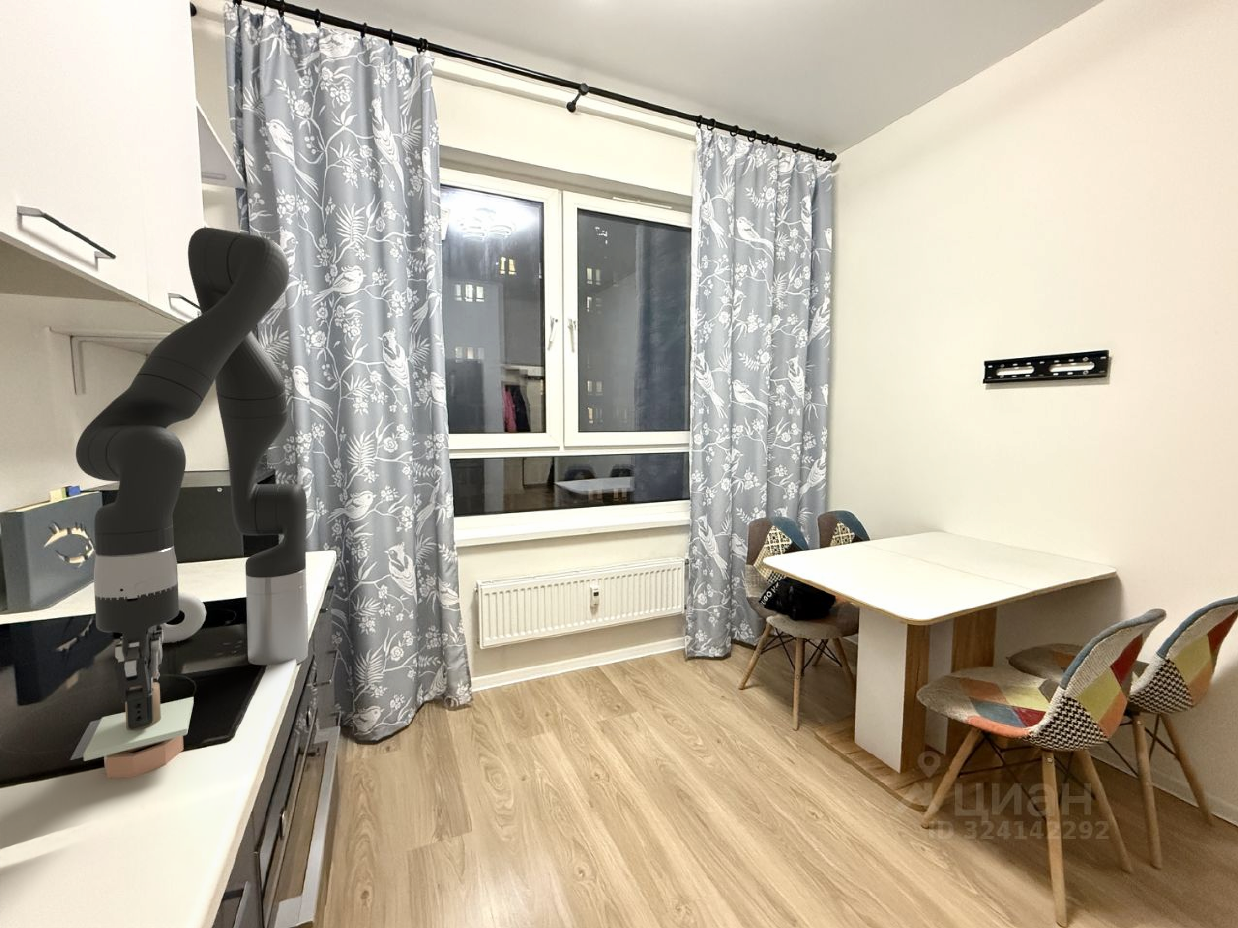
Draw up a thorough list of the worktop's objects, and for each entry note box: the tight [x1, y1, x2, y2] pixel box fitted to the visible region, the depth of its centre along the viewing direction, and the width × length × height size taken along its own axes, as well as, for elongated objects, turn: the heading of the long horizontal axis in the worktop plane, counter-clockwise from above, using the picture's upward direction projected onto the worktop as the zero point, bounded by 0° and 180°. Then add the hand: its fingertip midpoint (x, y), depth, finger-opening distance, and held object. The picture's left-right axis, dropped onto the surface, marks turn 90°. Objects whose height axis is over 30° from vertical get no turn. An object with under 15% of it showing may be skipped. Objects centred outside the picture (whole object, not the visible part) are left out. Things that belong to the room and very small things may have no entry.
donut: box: [161, 592, 207, 644], centre depth 101 cm, size 10×4×10 cm, turn 126°
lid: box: [83, 681, 195, 762], centre depth 64 cm, size 9×9×5 cm
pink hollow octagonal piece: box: [103, 736, 184, 779], centre depth 64 cm, size 7×7×4 cm
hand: (143, 717), depth 64 cm, fingers closed on lid, 3 cm apart
